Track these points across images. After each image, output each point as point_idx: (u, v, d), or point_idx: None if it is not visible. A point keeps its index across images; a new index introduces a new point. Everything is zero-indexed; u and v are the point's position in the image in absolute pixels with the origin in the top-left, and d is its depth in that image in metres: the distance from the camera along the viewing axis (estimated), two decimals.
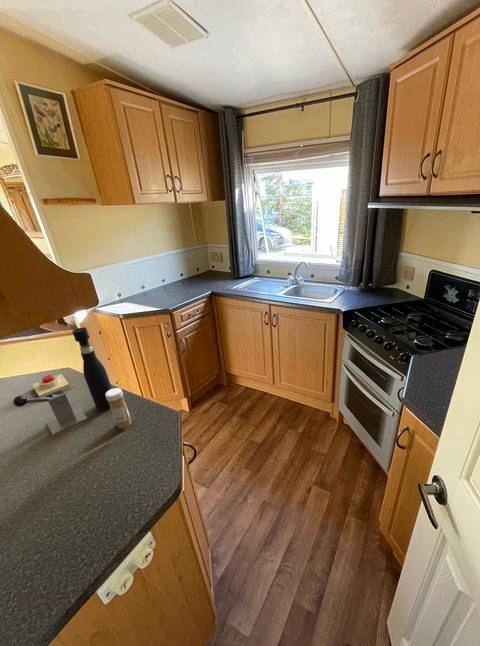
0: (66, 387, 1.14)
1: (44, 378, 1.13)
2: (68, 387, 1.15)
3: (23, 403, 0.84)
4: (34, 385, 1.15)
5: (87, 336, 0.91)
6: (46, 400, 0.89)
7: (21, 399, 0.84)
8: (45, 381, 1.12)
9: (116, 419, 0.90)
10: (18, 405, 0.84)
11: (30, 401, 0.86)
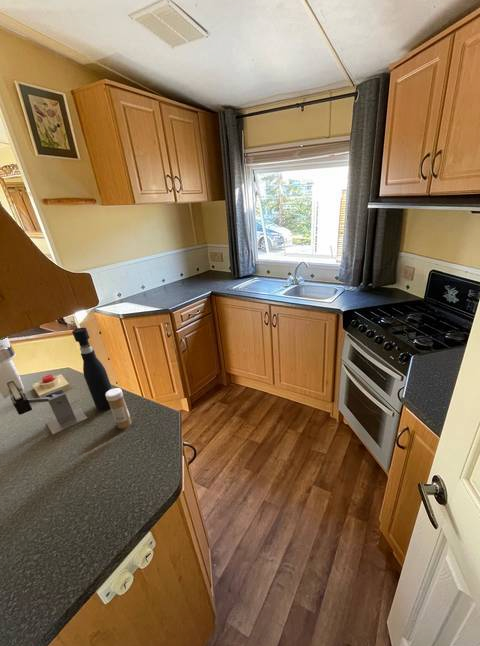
0: (66, 387, 1.14)
1: (44, 378, 1.13)
2: (68, 387, 1.15)
3: None
4: (34, 385, 1.15)
5: (87, 336, 0.91)
6: (46, 400, 0.89)
7: None
8: (45, 381, 1.12)
9: (116, 419, 0.90)
10: None
11: (30, 401, 0.86)
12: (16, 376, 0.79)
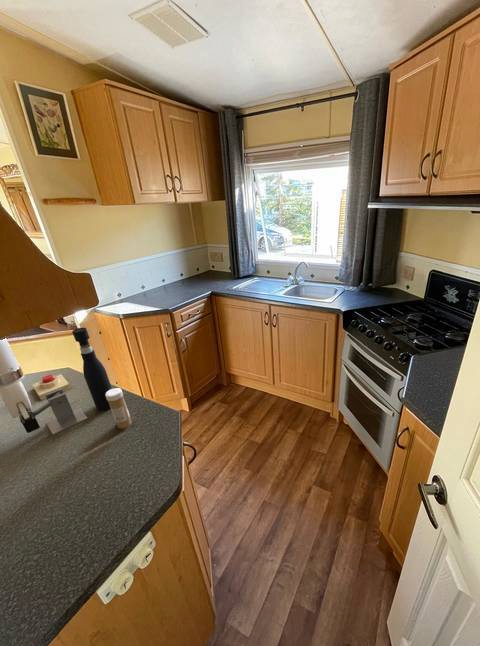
0: (66, 387, 1.14)
1: (44, 378, 1.13)
2: (68, 387, 1.15)
3: None
4: (34, 385, 1.15)
5: (87, 336, 0.91)
6: (48, 405, 0.90)
7: None
8: (45, 381, 1.12)
9: (116, 419, 0.90)
10: None
11: (35, 414, 0.88)
12: (25, 397, 0.82)
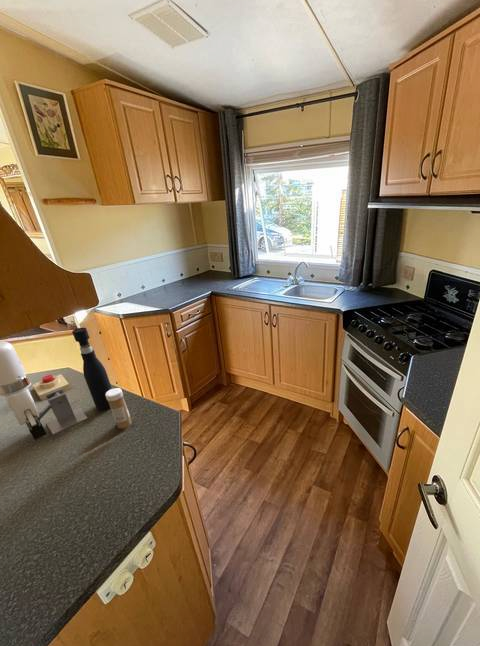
0: (66, 387, 1.14)
1: (44, 378, 1.13)
2: (68, 387, 1.15)
3: None
4: (34, 385, 1.15)
5: (87, 336, 0.91)
6: (50, 407, 0.91)
7: None
8: (45, 381, 1.12)
9: (116, 419, 0.90)
10: None
11: (40, 417, 0.89)
12: (32, 404, 0.83)
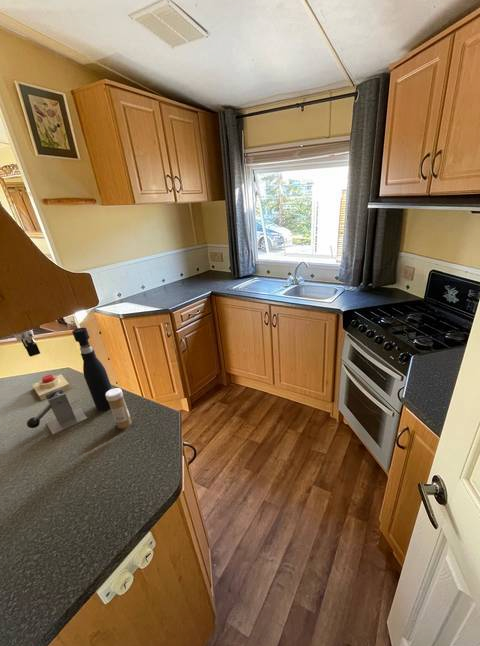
0: (66, 387, 1.14)
1: (44, 378, 1.13)
2: (68, 387, 1.15)
3: (36, 423, 0.88)
4: (34, 385, 1.15)
5: (87, 336, 0.91)
6: (50, 407, 0.91)
7: (31, 423, 0.87)
8: (45, 381, 1.12)
9: (116, 419, 0.90)
10: (35, 427, 0.88)
11: (40, 417, 0.89)
12: None
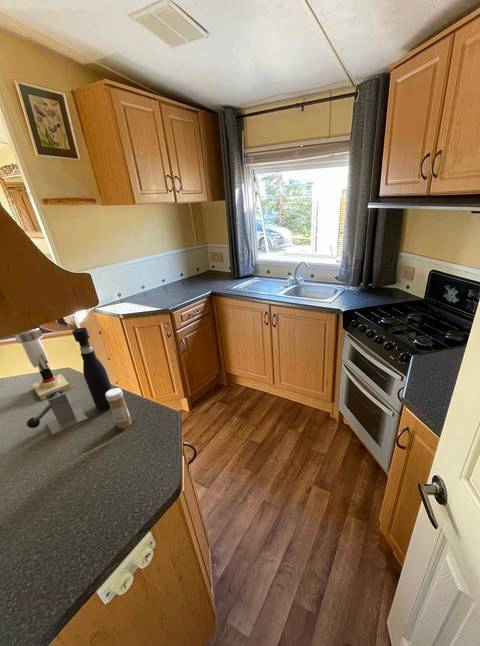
0: (66, 387, 1.14)
1: None
2: (68, 387, 1.15)
3: (36, 423, 0.88)
4: (34, 385, 1.15)
5: (87, 336, 0.91)
6: (50, 407, 0.91)
7: (31, 423, 0.87)
8: (45, 382, 1.13)
9: (116, 419, 0.90)
10: (35, 427, 0.88)
11: (40, 417, 0.89)
12: (43, 351, 1.07)
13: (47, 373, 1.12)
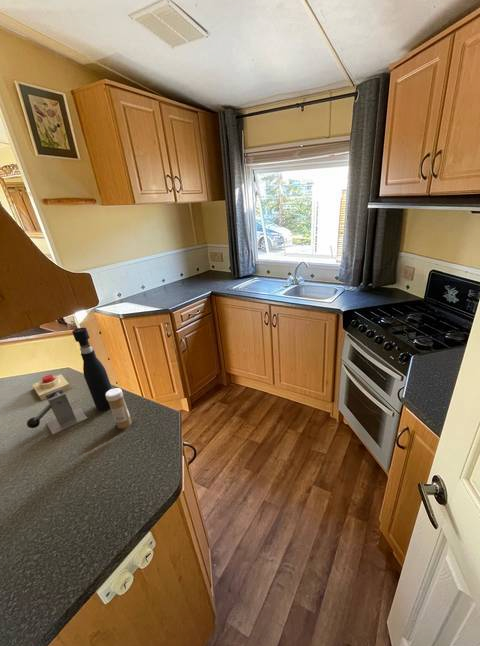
0: (66, 387, 1.14)
1: (44, 378, 1.13)
2: (68, 387, 1.15)
3: (36, 423, 0.88)
4: (34, 385, 1.15)
5: (87, 336, 0.91)
6: (50, 407, 0.91)
7: (31, 423, 0.87)
8: (45, 381, 1.12)
9: (116, 419, 0.90)
10: (35, 427, 0.88)
11: (40, 417, 0.89)
12: None
13: None
